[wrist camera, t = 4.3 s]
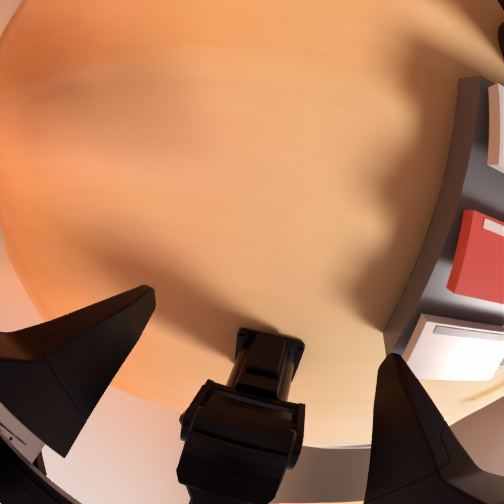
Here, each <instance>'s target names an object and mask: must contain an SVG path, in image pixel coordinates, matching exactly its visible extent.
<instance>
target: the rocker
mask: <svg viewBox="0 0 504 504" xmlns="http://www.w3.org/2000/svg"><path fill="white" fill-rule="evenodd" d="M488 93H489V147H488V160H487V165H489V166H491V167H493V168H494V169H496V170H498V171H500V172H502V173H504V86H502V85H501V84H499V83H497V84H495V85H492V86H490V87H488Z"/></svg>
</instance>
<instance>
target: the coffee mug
mask: <svg viewBox="0 0 504 504" xmlns="http://www.w3.org/2000/svg"><path fill="white" fill-rule="evenodd" d="M498 2H499V4H500V5H501V7H502V9H503V10H504V0H498ZM498 39H499V44H500V48H501V51H502V54H503V56H504V22H503V23H502V24H501V25H500V27H499V30H498Z"/></svg>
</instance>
